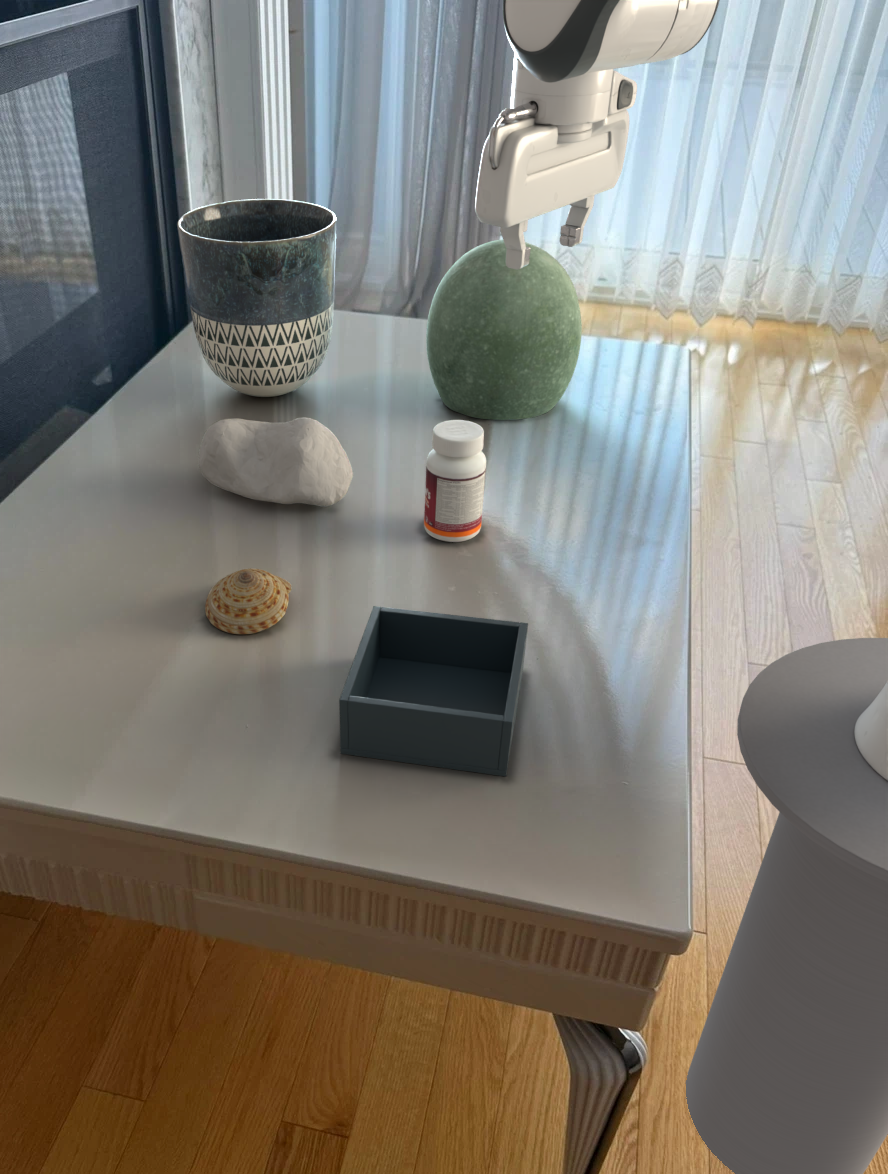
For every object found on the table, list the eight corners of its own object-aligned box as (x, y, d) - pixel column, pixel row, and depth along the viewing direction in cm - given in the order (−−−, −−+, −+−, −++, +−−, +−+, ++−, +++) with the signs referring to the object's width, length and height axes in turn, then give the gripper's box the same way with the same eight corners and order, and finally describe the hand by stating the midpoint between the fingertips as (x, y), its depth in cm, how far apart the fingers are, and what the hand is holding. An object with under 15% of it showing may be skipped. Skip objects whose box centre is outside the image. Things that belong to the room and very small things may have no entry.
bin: (522, 675, 92) (528, 622, 89) (506, 776, 82) (512, 722, 79) (373, 657, 95) (373, 605, 91) (340, 753, 85) (338, 699, 81)
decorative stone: (367, 457, 120) (342, 406, 110) (344, 535, 117) (317, 490, 108) (232, 445, 125) (198, 396, 116) (208, 519, 123) (171, 475, 114)
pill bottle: (425, 514, 115) (429, 415, 108) (482, 517, 114) (489, 418, 107) (421, 542, 110) (425, 441, 103) (480, 545, 109) (488, 444, 102)
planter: (245, 432, 132) (231, 252, 118) (169, 384, 144) (148, 216, 130) (368, 393, 140) (368, 222, 127) (287, 351, 152) (278, 191, 139)
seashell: (305, 569, 102) (277, 580, 95) (299, 625, 104) (272, 641, 96) (227, 556, 104) (194, 567, 97) (223, 612, 106) (190, 626, 98)
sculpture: (571, 379, 143) (590, 223, 130) (573, 429, 131) (596, 261, 118) (429, 374, 145) (435, 219, 132) (419, 422, 133) (424, 257, 120)
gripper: (524, 116, 87) (510, 288, 96) (647, 83, 99) (624, 238, 108) (463, 108, 90) (455, 274, 99) (589, 76, 102) (572, 228, 111)
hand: (544, 255), depth 103 cm, fingers open, 8 cm apart
